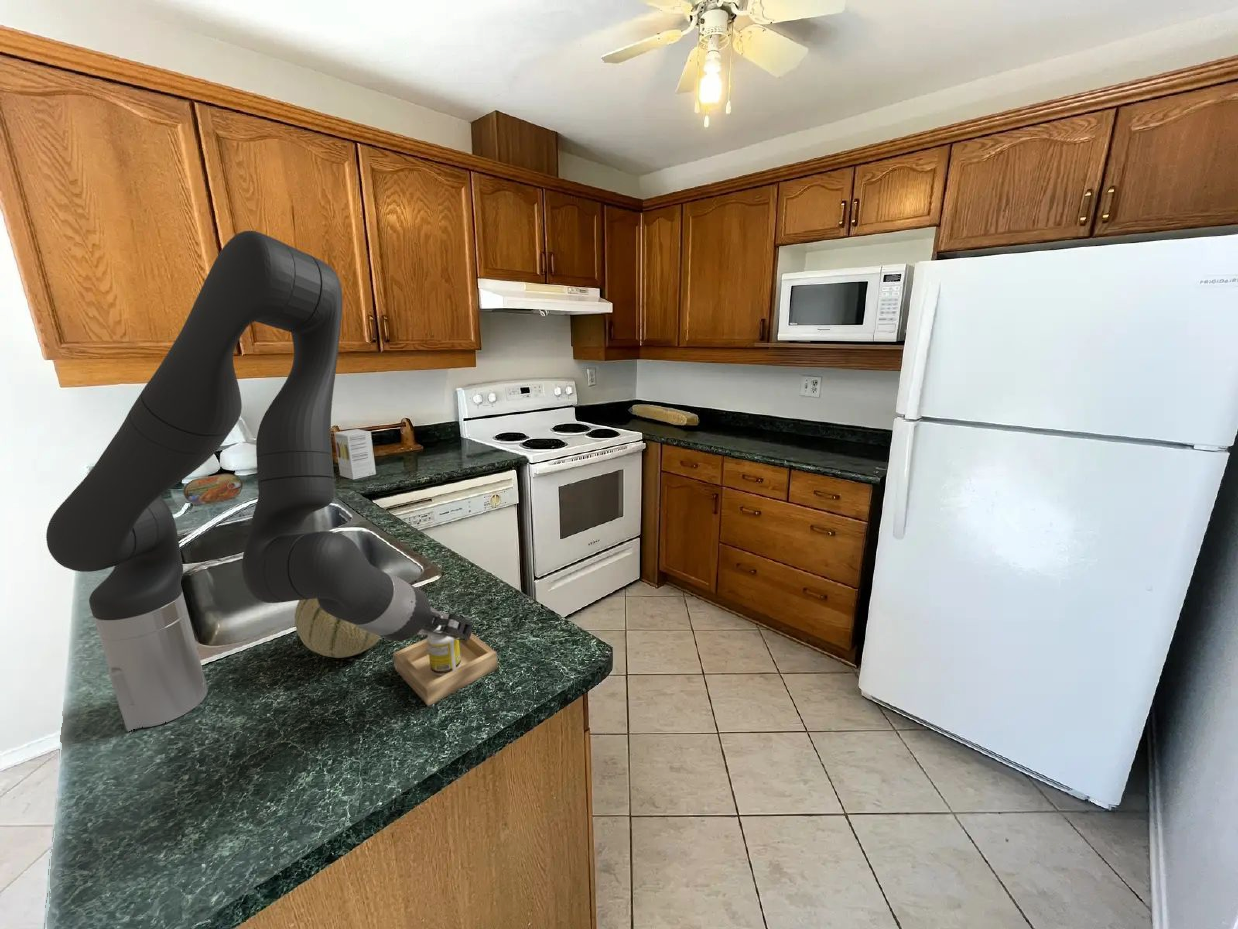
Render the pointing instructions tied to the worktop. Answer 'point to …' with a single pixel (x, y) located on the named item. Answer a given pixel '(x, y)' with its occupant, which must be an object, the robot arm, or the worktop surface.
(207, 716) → the worktop surface
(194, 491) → the tin
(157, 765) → the worktop surface
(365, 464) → the supplement box
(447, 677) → the box
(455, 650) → the supplement bottle
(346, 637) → the cantaloupe
